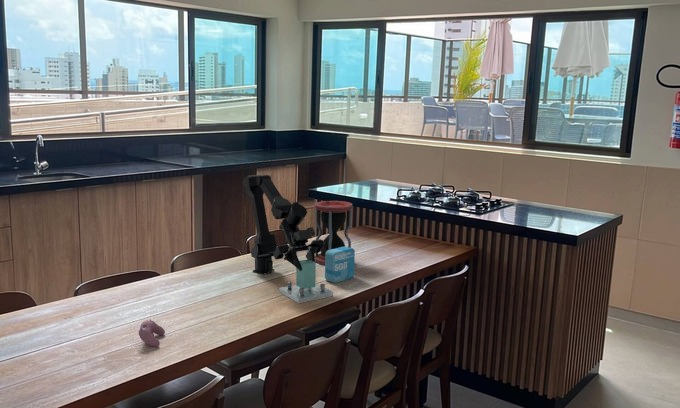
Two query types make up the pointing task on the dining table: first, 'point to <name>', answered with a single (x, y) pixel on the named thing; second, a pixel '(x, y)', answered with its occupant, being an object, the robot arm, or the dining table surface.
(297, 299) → the plate
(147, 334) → the video game controller
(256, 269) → the robot arm
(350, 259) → the blue printed box
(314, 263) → the module box
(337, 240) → the hourglass
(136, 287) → the dining table surface
